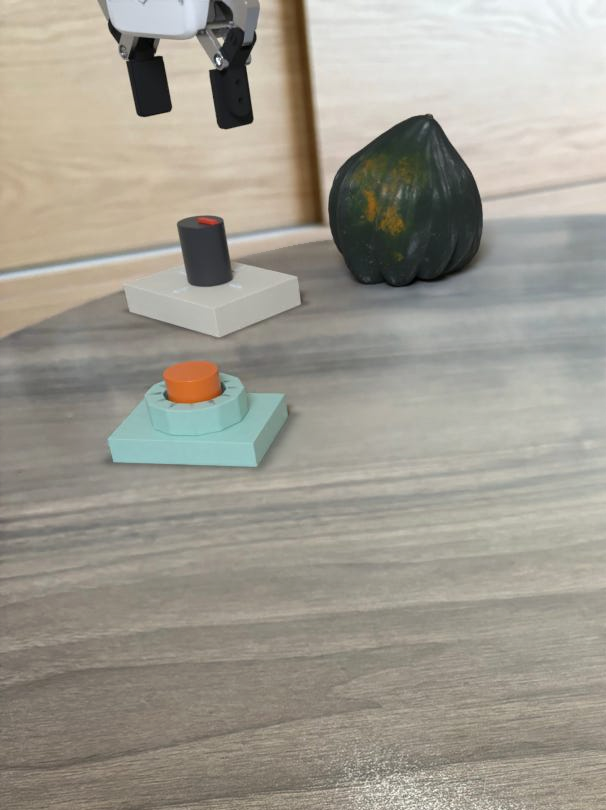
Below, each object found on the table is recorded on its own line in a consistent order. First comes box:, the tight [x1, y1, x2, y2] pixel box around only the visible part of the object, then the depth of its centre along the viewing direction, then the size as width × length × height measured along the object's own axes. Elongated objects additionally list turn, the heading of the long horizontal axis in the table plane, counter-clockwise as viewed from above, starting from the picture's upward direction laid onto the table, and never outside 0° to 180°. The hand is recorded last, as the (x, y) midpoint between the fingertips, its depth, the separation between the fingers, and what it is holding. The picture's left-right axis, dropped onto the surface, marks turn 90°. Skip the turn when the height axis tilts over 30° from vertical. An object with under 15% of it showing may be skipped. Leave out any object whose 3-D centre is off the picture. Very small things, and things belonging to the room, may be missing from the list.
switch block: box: [107, 372, 289, 468], centre depth 71 cm, size 10×8×4 cm
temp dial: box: [176, 214, 233, 286], centre depth 91 cm, size 4×4×5 cm
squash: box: [327, 113, 484, 287], centre depth 98 cm, size 14×15×15 cm
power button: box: [162, 360, 222, 404], centre depth 70 cm, size 4×4×2 cm
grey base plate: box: [123, 260, 302, 338], centre depth 93 cm, size 12×10×3 cm
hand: (194, 120), depth 81 cm, fingers open, 9 cm apart
